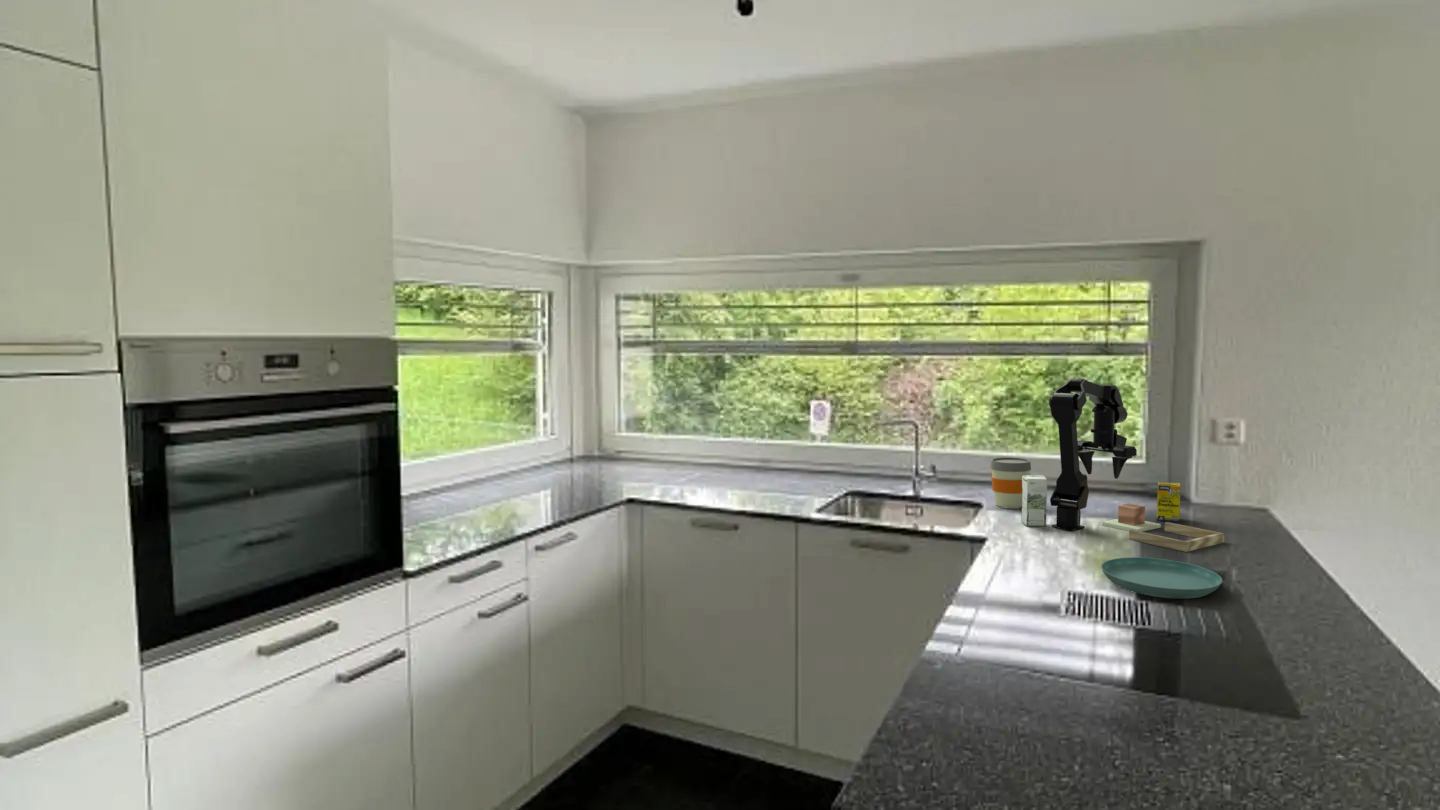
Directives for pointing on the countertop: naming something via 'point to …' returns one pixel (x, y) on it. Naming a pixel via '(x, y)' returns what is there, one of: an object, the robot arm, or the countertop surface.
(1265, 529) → the countertop surface
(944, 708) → the countertop surface
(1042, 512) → the syrup box
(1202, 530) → the open wooden frame
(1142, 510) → the terracotta cube
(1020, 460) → the reusable coffee cup
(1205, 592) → the teal plate
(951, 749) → the countertop surface
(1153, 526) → the pad
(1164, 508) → the supplement box
